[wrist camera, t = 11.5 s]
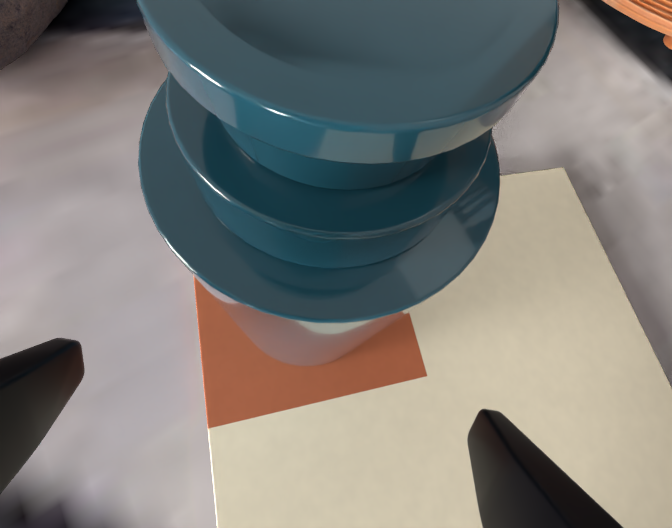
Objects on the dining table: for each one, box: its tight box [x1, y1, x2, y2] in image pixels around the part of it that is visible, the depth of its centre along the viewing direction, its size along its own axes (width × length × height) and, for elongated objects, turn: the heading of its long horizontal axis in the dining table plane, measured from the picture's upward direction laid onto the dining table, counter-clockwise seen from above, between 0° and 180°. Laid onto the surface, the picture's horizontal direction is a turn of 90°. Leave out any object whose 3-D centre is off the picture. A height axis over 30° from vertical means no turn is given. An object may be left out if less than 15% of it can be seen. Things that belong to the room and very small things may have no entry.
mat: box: [193, 167, 672, 528], centre depth 15 cm, size 20×20×1 cm
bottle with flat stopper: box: [136, 0, 559, 366], centre depth 9 cm, size 6×6×13 cm
